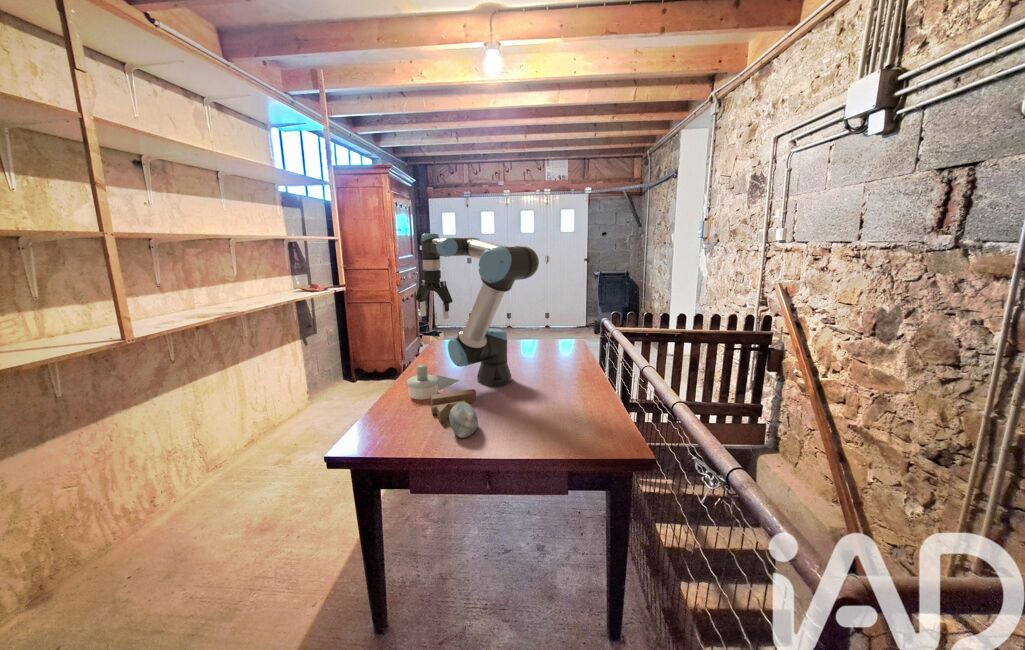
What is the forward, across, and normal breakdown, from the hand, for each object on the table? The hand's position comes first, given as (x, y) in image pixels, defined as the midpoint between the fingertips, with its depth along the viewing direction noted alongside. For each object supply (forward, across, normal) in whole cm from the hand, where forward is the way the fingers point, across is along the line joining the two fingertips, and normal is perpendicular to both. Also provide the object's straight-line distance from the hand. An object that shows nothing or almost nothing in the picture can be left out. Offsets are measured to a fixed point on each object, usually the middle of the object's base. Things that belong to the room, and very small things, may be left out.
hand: (434, 317), depth 173 cm
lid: (+22, -13, +22) cm, 34 cm away
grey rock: (+27, -46, +37) cm, 65 cm away
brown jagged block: (+27, -34, +26) cm, 51 cm away
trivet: (+27, -9, +9) cm, 30 cm away
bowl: (+27, -13, +22) cm, 37 cm away
